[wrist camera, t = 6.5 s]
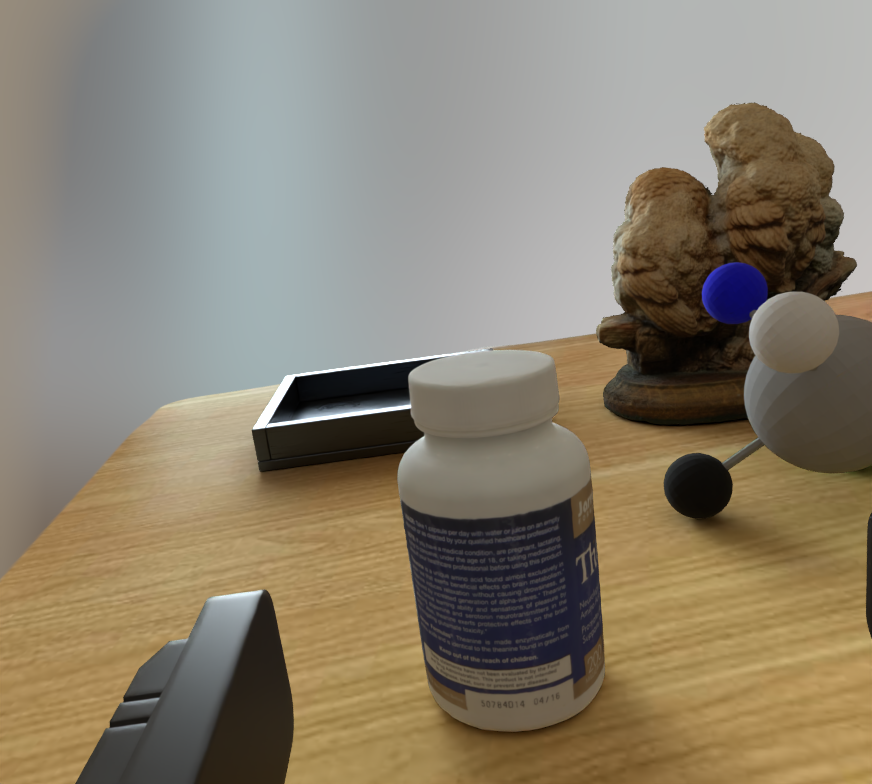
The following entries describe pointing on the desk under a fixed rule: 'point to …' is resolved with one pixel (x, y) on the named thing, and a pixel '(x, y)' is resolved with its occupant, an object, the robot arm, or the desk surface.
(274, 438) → the bin
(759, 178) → the owl figurine
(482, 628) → the pill bottle
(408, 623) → the desk surface
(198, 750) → the robot arm
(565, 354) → the desk surface
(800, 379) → the molecular model
